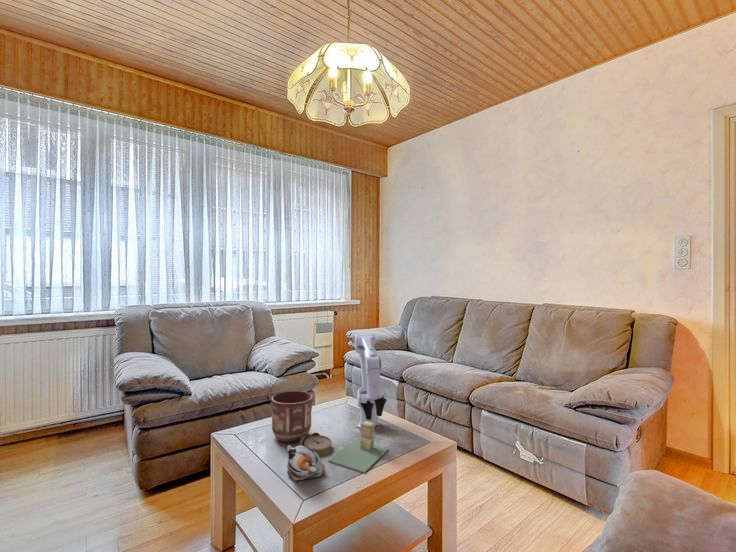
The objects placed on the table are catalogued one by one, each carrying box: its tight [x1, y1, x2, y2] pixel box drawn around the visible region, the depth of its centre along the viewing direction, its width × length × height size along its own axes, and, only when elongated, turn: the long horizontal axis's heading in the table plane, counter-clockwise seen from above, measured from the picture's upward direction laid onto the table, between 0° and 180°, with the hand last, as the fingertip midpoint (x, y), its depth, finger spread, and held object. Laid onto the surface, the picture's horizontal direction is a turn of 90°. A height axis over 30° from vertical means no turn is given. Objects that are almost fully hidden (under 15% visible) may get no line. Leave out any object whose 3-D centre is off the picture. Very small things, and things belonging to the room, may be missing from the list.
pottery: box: [270, 390, 314, 444], centre depth 159 cm, size 18×18×18 cm
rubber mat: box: [328, 439, 389, 474], centre depth 143 cm, size 20×16×1 cm
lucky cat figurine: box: [286, 444, 326, 482], centre depth 128 cm, size 15×12×14 cm
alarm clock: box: [298, 432, 334, 457], centre depth 149 cm, size 11×5×15 cm
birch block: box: [360, 421, 375, 451], centre depth 149 cm, size 4×4×10 cm
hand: (374, 417), depth 155 cm, fingers open, 7 cm apart
